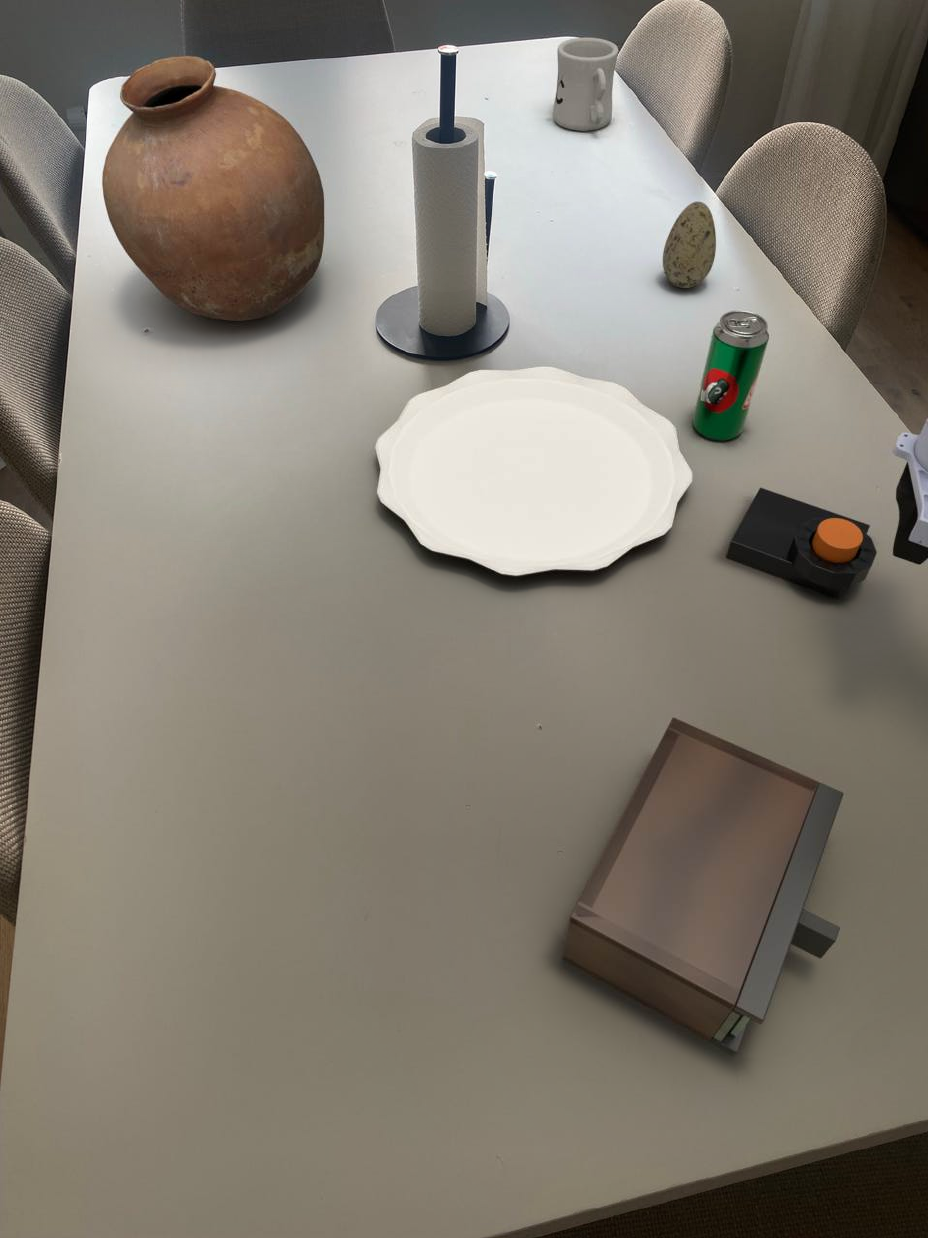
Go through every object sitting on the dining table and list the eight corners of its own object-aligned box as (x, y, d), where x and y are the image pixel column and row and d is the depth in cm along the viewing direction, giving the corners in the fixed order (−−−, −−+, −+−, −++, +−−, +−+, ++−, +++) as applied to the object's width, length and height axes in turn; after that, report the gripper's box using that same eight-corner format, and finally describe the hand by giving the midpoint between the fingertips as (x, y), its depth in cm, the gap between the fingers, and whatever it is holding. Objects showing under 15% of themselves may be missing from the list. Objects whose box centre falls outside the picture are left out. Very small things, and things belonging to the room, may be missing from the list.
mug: (544, 111, 143) (548, 39, 135) (599, 105, 144) (607, 33, 136) (569, 144, 135) (575, 70, 127) (627, 138, 136) (636, 64, 129)
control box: (876, 547, 81) (892, 514, 78) (848, 616, 76) (864, 584, 73) (754, 504, 85) (765, 471, 82) (720, 567, 80) (730, 535, 77)
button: (861, 542, 77) (868, 527, 75) (849, 569, 75) (856, 554, 74) (818, 527, 78) (824, 512, 77) (806, 553, 76) (812, 538, 75)
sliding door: (821, 944, 58) (846, 913, 54) (782, 1062, 53) (806, 1038, 49) (772, 920, 59) (793, 887, 55) (730, 1033, 54) (749, 1007, 50)
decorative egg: (655, 294, 108) (669, 212, 101) (660, 269, 112) (674, 187, 104) (706, 301, 108) (724, 218, 100) (709, 275, 111) (727, 193, 104)
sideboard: (812, 842, 63) (844, 792, 58) (735, 1056, 54) (763, 1021, 49) (656, 769, 67) (673, 716, 62) (560, 959, 58) (569, 916, 53)
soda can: (746, 444, 91) (777, 338, 81) (695, 444, 91) (720, 338, 82) (737, 412, 94) (766, 307, 85) (688, 412, 94) (711, 307, 85)
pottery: (360, 263, 114) (337, 36, 94) (288, 369, 99) (243, 127, 80) (194, 239, 118) (140, 18, 99) (102, 338, 104) (17, 101, 84)
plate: (373, 393, 96) (371, 374, 95) (646, 377, 98) (650, 358, 96) (382, 602, 78) (380, 583, 76) (720, 578, 79) (726, 559, 77)
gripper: (946, 328, 62) (878, 479, 73) (895, 447, 54) (826, 598, 65) (1057, 357, 60) (970, 509, 70) (1021, 487, 52) (929, 637, 62)
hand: (908, 554), depth 67 cm, fingers closed
